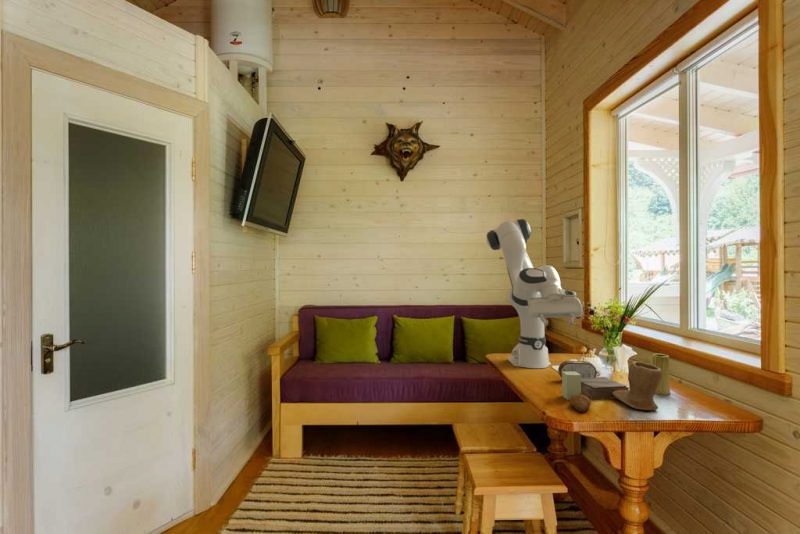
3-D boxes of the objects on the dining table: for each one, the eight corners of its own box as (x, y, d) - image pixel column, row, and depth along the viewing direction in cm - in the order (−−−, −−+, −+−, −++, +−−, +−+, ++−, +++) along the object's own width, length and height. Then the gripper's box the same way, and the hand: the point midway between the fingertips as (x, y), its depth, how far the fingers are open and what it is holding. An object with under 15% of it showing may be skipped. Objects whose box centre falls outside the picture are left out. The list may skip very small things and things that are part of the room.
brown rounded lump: (569, 401, 155) (569, 387, 155) (590, 403, 152) (590, 389, 152) (570, 413, 142) (570, 398, 142) (592, 415, 140) (592, 400, 140)
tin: (594, 381, 181) (595, 360, 181) (597, 383, 178) (597, 362, 178) (557, 380, 182) (557, 360, 182) (559, 382, 179) (559, 361, 179)
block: (562, 395, 160) (562, 371, 160) (575, 395, 160) (575, 371, 160) (566, 399, 155) (567, 374, 155) (581, 400, 155) (581, 375, 155)
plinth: (572, 388, 170) (572, 378, 170) (604, 386, 172) (604, 376, 172) (593, 399, 156) (593, 388, 156) (628, 397, 158) (628, 386, 158)
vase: (657, 389, 168) (658, 352, 168) (673, 393, 162) (674, 355, 162) (647, 391, 165) (648, 354, 165) (663, 395, 160) (663, 357, 160)
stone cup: (669, 413, 141) (669, 367, 141) (632, 412, 142) (632, 367, 141) (644, 399, 156) (644, 357, 156) (611, 398, 157) (611, 357, 157)
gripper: (527, 293, 177) (531, 319, 168) (579, 291, 174) (587, 319, 165) (526, 303, 182) (530, 329, 172) (577, 302, 179) (584, 329, 169)
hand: (558, 324), depth 168 cm, fingers open, 8 cm apart
